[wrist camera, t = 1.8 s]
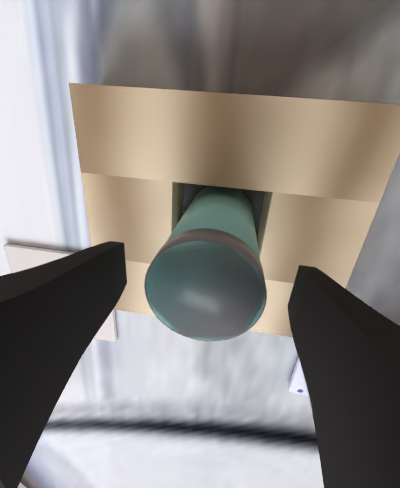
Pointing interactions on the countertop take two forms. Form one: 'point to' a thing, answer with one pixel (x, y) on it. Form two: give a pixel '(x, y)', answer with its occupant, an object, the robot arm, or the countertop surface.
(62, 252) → the mat
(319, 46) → the countertop surface
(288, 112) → the tan board with hole
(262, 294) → the plug
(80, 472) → the countertop surface
